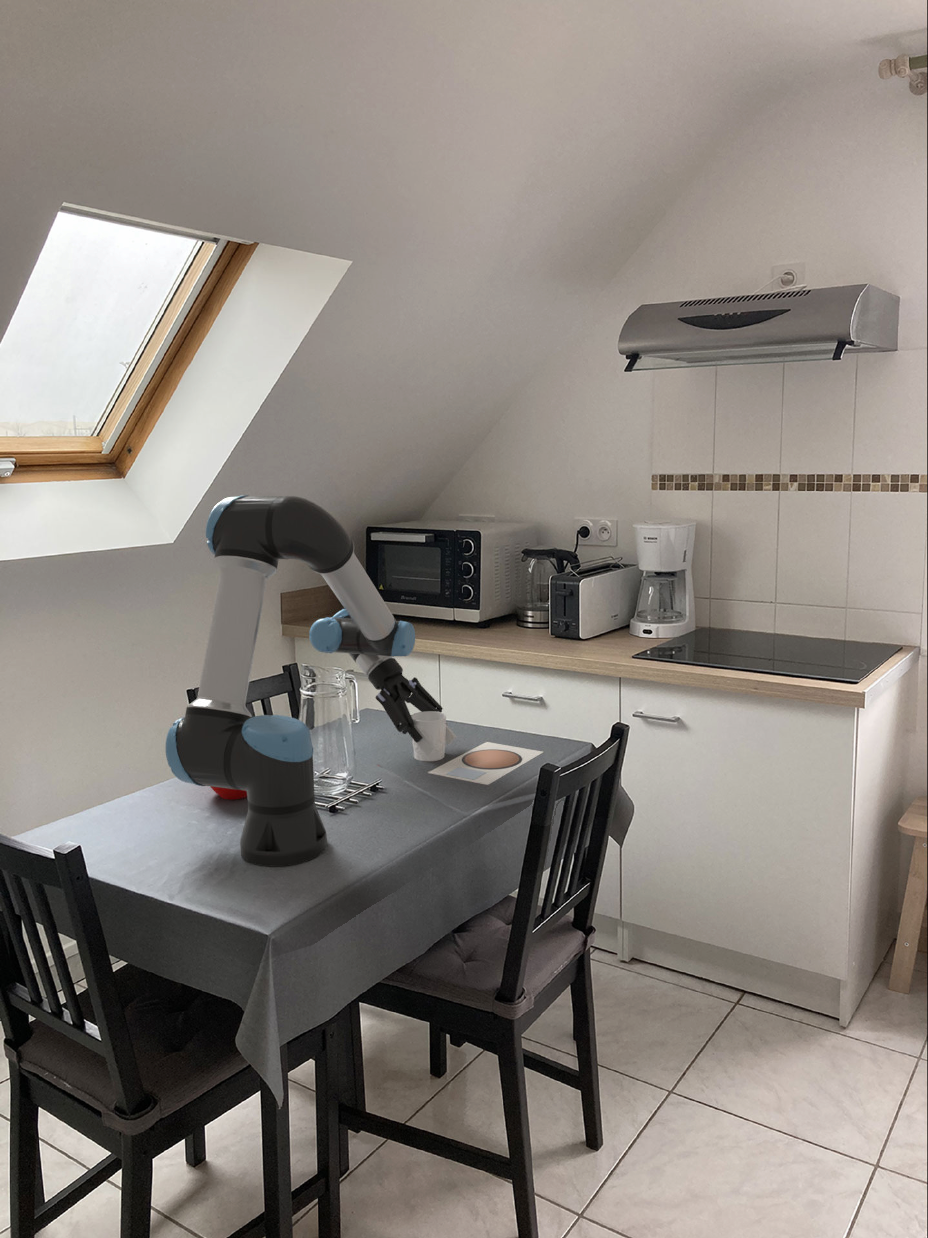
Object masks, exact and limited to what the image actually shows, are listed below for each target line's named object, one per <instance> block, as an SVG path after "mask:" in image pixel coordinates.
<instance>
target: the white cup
mask: <svg viewBox="0 0 928 1238" xmlns="http://www.w3.org/2000/svg"><path fill="white" fill-rule="evenodd" d="M410 715H411V717H412V720H413V722H414V726H415V725H417V724H418V725H419V727H420V728H421V729H422V730H423V732H424V733H425V734H426V735H427V737H428V738H429V739H430V741H431V742H432V743H433V744H434V746H435V747H436V748H435V749H434V750H433V751H432V752H431V753H430V754H429V755H426V754H425V752H424V751H423V750H422V749H421V747H420V746H419V745H418V743H416V742H415V741H414V740H413V738H412V737H411V741H412V748H413V758H414V759H416V760H417V761H420V762H436V761H440V760H442V759H443V758H445V750H446V749H445V748H446V742H445V741H446V739H445V736H446V723H447V715H446V714H445V713H443V712H435V711H425V712H421V711H418V712H415V713H413V714H410Z"/></svg>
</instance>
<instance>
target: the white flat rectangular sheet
mask: <svg viewBox="0 0 928 1238" xmlns="http://www.w3.org/2000/svg"><path fill="white" fill-rule="evenodd" d="M489 749H497V750H507V751H511V752H515V753H517V754H519V755H520V756H521V757H522V761H521V762H520V763H519V764H518V765H515V766H513V767H509V768H504V769H492V770H489V769H478V768H473V767H469V766H467V765H465V764H464V763H463V762H462V758H463V756H465V755H466V754H468V753H471V752H474V751H479V750H489ZM543 753H544V751H542V750H541V751H540V750H535V749H529V748H524V747H518V746H513V745H507V744H500V743H495V742H490V741H486V742H484V743H482V744H480V745H478V746H476V747H474V748H472V749H470V750H468V751H466V752H465V753H462V754H461V755H458V756H457V757H455V758H453V759H451V760H449V761H447V762H445V763H444V764H441V765H440V766H438V767H435V768H434V769H432V770H430V771H428V772H427V774H431V775H436V776H441V777H445V778H446V777H447V778H450V779H451V778H452V779H456V780H459V781H460V780H461V781H465V782H471V783H476V784H481V785H485V786H486V785H487V786H489V785H491V784H493V783H494V782H496V781H497V780H499V779H500V778H503V777H504V776H505V775H508V774H509V773H511V772H512V771H515V770H516V769H517V768H520V767H521V766H523V765H524V764H526V763H528V762H530V761H531V760H533V759H534V758H536V757H538V756H540V755H541V754H543Z"/></svg>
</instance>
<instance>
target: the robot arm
mask: <svg viewBox="0 0 928 1238" xmlns="http://www.w3.org/2000/svg"><path fill="white" fill-rule="evenodd" d="M205 538H206V539H208V540H207V541H206V544H207V547H208V549H209V551H210V552H211V553H212V555H213V556H214V559H213V562H214V564H215V565H216V567H217V568H218V569H219V577H218V584H217V589H216V593H215V598H214V599H215V600H214V603H213V604H214V606H213V610H212V615H211V621H210V626H209V632H208V638H207V643H206V649H205V654H204V659H203V665H202V669H201V670H202V671H201V676H200V681H199V686H198V691H197V692H198V693H197V697H196V699H194V700H193V701H191V703H189V704H187V706H186V709H185V714H184V717H183V716H182V717H181V718H178V719H176V720H175V721H174V722H173V723H172V726H170V727H169V729H168V732H167V734H166V740H165V757H166V761H167V765H168V767H169V768H170V771H171V772H172V774H173V775H174V776H175V778H177V780H179V781H181V782H184V783H189V784H193V785H195V786H198V787H210V786H211V787H220V788H228V789H236V790H245V791H247V797H246V799H247V814H246V817H245V821H244V825H243V827H242V831H241V837H240V840H239V841H240V842H239V843H240V846H239V847H240V855H241V857H242V858H243V859H244V860H245V861H247V862H249V863H251V864H254V865H258V866H264V867H285V866H293V865H298V864H302V863H305V862H308V861H310V860H313V859H315V858H317V857H319V856H320V855H322V854H323V853H324V852H325V851H326V849H327V847H328V837H327V836H328V835H327V830H326V828H325V826H324V823H323V820H322V818H321V816H320V813H319V811H318V808H317V805H316V796H315V778H314V777H315V775H314V772H315V771H314V756H313V755H314V747H313V743H312V742H313V741H312V736H311V735H312V734H311V730H310V729H309V727H308V726H307V724H306V723H304V722H303V721H301V720H299V719H298V718H295V717H290V716H287V715H282V714H281V715H279V714H272V715H268V714H262V715H256V716H252V715H253V714H251V712H250V711H249V710H248V708H247V706H246V703H247V697H248V696H247V695H248V690H249V685H250V681H251V679H250V678H251V672H252V667H253V661H254V656H255V650H256V644H257V639H258V633H259V628H260V620H261V616H262V610H263V605H264V598H265V592H266V586H267V581H268V579H270V578H271V577H273V576H274V575H275V574H276V573H277V570H278V564H279V561H280V560H295V561H300V562H302V563H305V564H306V565H307V566H308V567H309V569H310V570H311V571H313V572H314V573H316V574H320V575H321V577H322V578H323V579H324V581H325V582H326V584H327V585H328V587H329V588H330V589H331V591H332V592H333V594H334V595H335V596H336V598H337V599H338V601H339V602H340V604H341V605H342V606H343V608H342V609H341V610H339V611H337V612H336V613H335V614H334V615H333V616H332V617H328V616H327V617H325V618H323V617H322V618H319V619H317V620H316V621H314V622H313V624H312V625H311V626H310V629H309V635H308V638H309V641H310V644H311V646H312V647H313V649H315V650H316V651H317V652H320V653H325V654H333V653H338V654H339V653H340V654H348V655H349V656H350V657H351V659H352V660H353V661H354V663H356V664H357V666H358V667H359V668H360V670H361V671H362V672H363V674H364V675H365V676H367V679H368V681H369V682H370V683H371V685H372V686H373V687H374V688H375V689H376V690H378V691H379V692H378V694H377V695H375V700H377V702H379V703H380V705H381V706H382V708H383V709H384V711H385V712H386V714H387V716H388V717H389V719H390V720H391V722H392V724H393V725H394V728H395V729H396V730H397V731H398V732H399V733H402V734H403V735H407V734H409V736H410V737H411V739H412V738H413V740H414V741H415V742H416V743H418V745H419V746H420V747H421V749H422V750H423V751H424V752H425V754H426V755H429V754H430V753H431V752H432V751H433V750H434V749H435V748H436V747H435V746H434V744H433V743H432V742H431V741H430V739H429V738H428V737H427V735H426V734H425V733H424V732H423V730H422V729H421V728H420V727H419V725H418V724H417V725H415V726H414V722H413V720H412V717H411V715H412V714H411V713H410V710H409V708H408V705H407V704H411V705H412V706H413V707H414V708H416V709H417V710H419V712H425V711H435V712H441V713H443V709H444V708H443V707H442V705H441V704H440V703H439V702H437V700H436V699H435V698H434V697H433V696H432V695H431V694H430V693H429V691H428V690H426V689H425V688H424V687H423V686H422V684H421V683H420V681H419V679H418V678H417V677H413V678H412V679H409V680H408V679H407V677H405V676H404V675H403V672H404V671H403V670H404V669H403V667H402V666H401V665H400V663H399V662H398V661H397V660H396V658H394V657H408V656H409V655H410V654H411V653H412V652H413V650H414V648H415V645H416V644H415V643H416V631H415V627H414V625H413V624H412V623H411V622H409V621H403V620H396V618H395V617H394V615H393V613H392V612H391V610H390V609H389V607H388V605H387V604H386V602H385V601H384V599H383V597H382V596H381V593H379V591H378V589H377V588H376V586H375V585H374V583H373V581H372V580H371V578H370V577H369V575H368V574H367V572H366V570H365V569H364V567H363V565H362V563H361V562H360V560H359V558H357V556H356V554H355V543H354V541H353V539H352V537H351V536H350V534H349V533H348V531H347V530H346V529H345V527H344V526H343V525H342V523H340V522H339V520H338V519H337V518H335V517H334V516H333V515H332V514H331V513H330V512H329V511H327V510H326V509H325V508H323V507H322V506H320V505H319V504H318V503H315V502H313V501H311V500H309V499H307V498H303V497H300V496H296V495H295V496H294V495H285V496H277V495H276V496H275V495H274V496H273V495H271V496H269V495H248V494H244V495H239V496H228V497H226V498H223V499H222V500H221V501H219V502H218V503H216V505H214V507H213V508H212V510H211V511H210V513H209V517H208V519H207V521H206V527H205ZM445 739H446V741H445V744H446V745H447V746H448V745H450V744H451V743H452V742H454V740H456V739H457V735H456V734H455V733H454V732H453V730H452V729H451V727H450V726H449V725H448V723H447V722H446V736H445ZM211 787H210V788H211Z"/></svg>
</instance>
